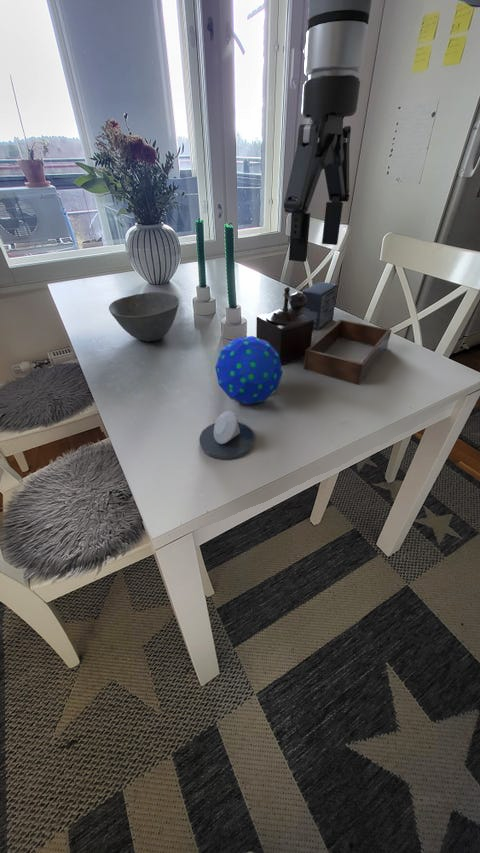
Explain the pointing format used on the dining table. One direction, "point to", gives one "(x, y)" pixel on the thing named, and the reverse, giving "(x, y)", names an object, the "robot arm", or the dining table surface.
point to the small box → (320, 303)
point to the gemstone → (226, 427)
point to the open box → (341, 366)
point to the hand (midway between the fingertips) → (314, 251)
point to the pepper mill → (287, 328)
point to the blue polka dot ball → (248, 370)
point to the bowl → (146, 314)
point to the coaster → (231, 448)
